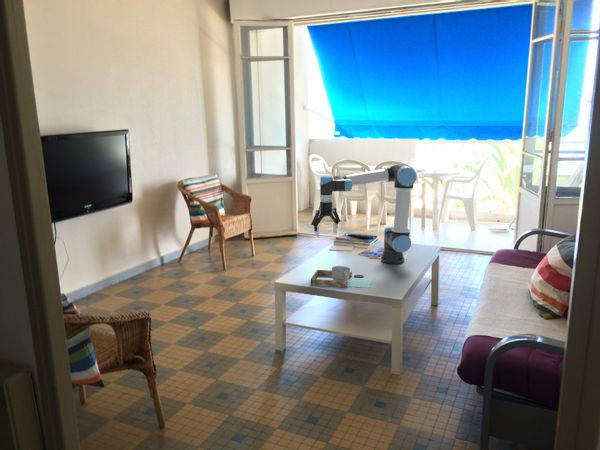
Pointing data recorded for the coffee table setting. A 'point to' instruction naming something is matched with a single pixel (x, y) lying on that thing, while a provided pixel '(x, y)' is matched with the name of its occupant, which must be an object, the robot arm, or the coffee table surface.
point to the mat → (360, 282)
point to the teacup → (340, 273)
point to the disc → (358, 276)
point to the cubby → (327, 282)
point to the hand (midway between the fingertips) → (326, 235)
